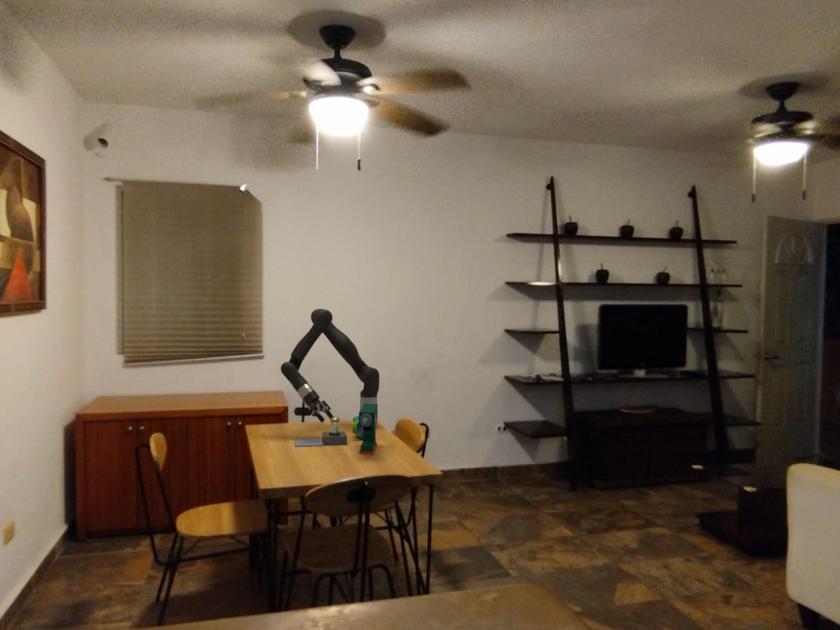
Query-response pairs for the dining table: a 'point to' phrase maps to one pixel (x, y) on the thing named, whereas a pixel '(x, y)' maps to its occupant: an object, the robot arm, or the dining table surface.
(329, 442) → the socket block
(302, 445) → the mat
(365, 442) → the power tool
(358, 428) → the snack cup
